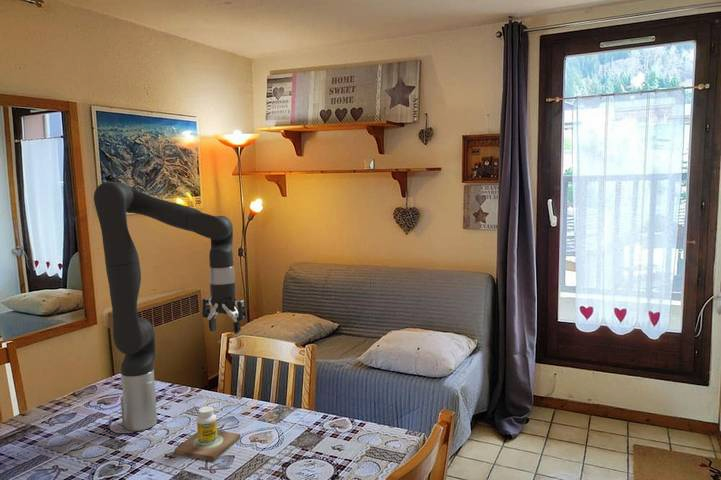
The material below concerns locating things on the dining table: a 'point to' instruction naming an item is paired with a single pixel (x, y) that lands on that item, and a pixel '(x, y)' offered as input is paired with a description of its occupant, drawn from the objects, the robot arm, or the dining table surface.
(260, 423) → the dining table surface
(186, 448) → the walnut board
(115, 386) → the dining table surface
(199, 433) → the supplement bottle
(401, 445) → the dining table surface
